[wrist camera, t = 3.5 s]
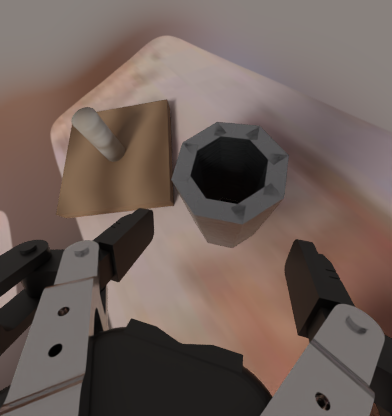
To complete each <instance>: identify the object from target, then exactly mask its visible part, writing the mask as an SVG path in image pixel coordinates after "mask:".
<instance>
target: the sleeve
mask: <svg viewBox="0 0 392 416" xmlns="http://www.w3.org/2000/svg"><path fill="white" fill-rule="evenodd" d="M288 158H289V155H288V154H287V153H286V152H285V151H284V150H283V149H282V148H281V147H280V146H279V145H278V144H277V143H276V142H275V141H274V140H273V139H272V138H271V137H270V136H269V135H268V134H267V133H266V132H265V131H264V130H263V129H262V128H261V127H260V126H255V125H245V124H234V123H223V122H216V123H215V124H213V125H211V126H210V127H208V128H206V129H205V130H203V131H201V132H200V133H198V134H196V135H195V136H193V137H191V138H190V139H188V140H186V141H185V142H183V143H182V146H181V150H180V153H179V156H178V159H177V163H176V166H175V169H174V173H173V176H172V179H171V180H172V182H173V184H174V185H175V187H176V189H177V191H178V193H179V194H180V196H181V198H182V200H183V202H184V203H185V205H186V207H187V209H188V211H189V212H190V214H191V216H192V218H193V220H194V221H195V223H196V225H197V226H198V228H199V229H200V231H201V233H202V234H203V236H204V237H205V239H206V240H207V242H208V243H211V244H216V245H220V246H225V247H229V248H234V247H235V246H237V245H238V244H240V243H241V242H243V241H244V240H246V239H247V238H249V237H250V236H252V235H253V234H254V233H255V232H256V231H257V230H258V228H259V227H260V226H261V225H262V224H263V222H264V221H265V220H266V219H267V218H268V217H269V215H270V214H271V213H272V212H273V211H274V209H275V208H276V207H277V206H278V205H279V203H280V202H281V201H282V200H283V199H284V194H285V185H286V176H287V167H288ZM221 198H222V199H228V200H233V201H237V202H238V203H239V204H234V203H228V202H223V201H218V200H220V199H221Z"/></svg>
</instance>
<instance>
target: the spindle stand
mask: <svg viewBox="0 0 392 416" xmlns="http://www.w3.org/2000/svg"><path fill="white" fill-rule="evenodd" d="M172 176H173V172H172V147H171V121H170V107H169V104H168V101H167V100H162V101H156V102H151V103H145V104H139V105H134V106H128V107H122V108H117V109H111V110H105V111H100V112H96V111H95V110H94V109H93V108H90V107H85V108H82V109H80V110H78V111H77V112H76V113H75V114H74V115H73V117H72V128H71V134H70V139H69V145H68V150H67V156H66V162H65V167H64V173H63V178H62V185H61V190H60V196H59V201H58V206H57V212H56V215H59V216H62V217H64V218H73V217H81V216H89V215H98V214H106V213H115V212H123V211H132V210H137V209H138V208H144V209H148V208H157V207H165V206H174V198H173V182H172V180H171V179H172Z"/></svg>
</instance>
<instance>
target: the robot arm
mask: <svg viewBox="0 0 392 416" xmlns="http://www.w3.org/2000/svg"><path fill="white" fill-rule="evenodd" d="M153 235H154V219H153V211H152V210H149V209H144V208H138V209H137V210H136V211H135V212H134V213H132V214H129V215H126V216H124V217H122V218H120V219H119V220H118V221H117V222H116V223H114V224H113V225H112V226H111V227H109V228H108V229H107V230H105V231H104V232H103V233H102V234H100V235H99V236H98V237H97V238H95V239H94V240H93V241H90V240H86V241H80V242H77V243H74V244H72V245H70V246H69V247H68V248H66V250H50V248H49V245H48V243H47V242H46V241H44V240H32V241H28V242H24V243H22V244H19V245H18V246H16V247H14V248H12V249H11V250H9V251H7V252H6V253H4V254H2V255H1V256H0V297H1V296H2V295H3V294H5V293H6V292H7V291H9V290H10V289H11V288H12V287H14V286H15V285H16V284H18V283H19V282H20V281H21V283H22V285H23V287H24V290H22V291H21V292H20V293H19V294H17V295H16V296H15V297H14V298H13V299H11V300H10V301H9V302H8V303H7V304H5V305H4V306H3V307H2V308H0V356H1V354H2V353H4V352H5V350H6V349H7V348H8V347H9V346H10V345H11V344H12V343H13V342H14V341H15V340H16V339H17V338H18V337H19V336H20V335H21V334H22V333H23V332H24V331H25V330H26V329H27V328H28V327H29V326H30V325H31V324H32V325H31V328H30V331H29V334H28V337H27V340H26V343H25V345H24V348H23V351H22V354H21V357H20V360H19V363H18V366H17V369H16V372H15V375H14V378H13V381H12V384H11V385H9V386H8V387H6V388H4V389H3V390H1V391H0V416H370V412H371V409H372V406H373V402H374V403H375V404H376V406H377V408H378V411H379V414H380V416H392V338H390V337H388V336H386V335H384V333H383V331H382V329H381V328H380V326H379V325H378V324H377V323H376V322H375V321H374V320H373V319H372V318H371V317H370V316H369V315H368V314H366V313H365V312H363V311H362V310H360V309H358V308H356V307H355V306H354V304H353V302H352V300H351V298H350V296H349V295H348V293H347V291H346V289H345V287H344V285H343V283H342V282H341V280H340V278H339V276H338V274H337V273H336V270H335V269H334V267H333V265H332V263H331V262H330V261H329V260H328V259H327V258H326V257H325V256H324V255H323V254H318V252H317V250H316V248H315V246H314V244H313V243H312V242H308V241H303V240H298V239H296V240H295V241H294V242H293V245H292V247H291V250H290V252H289V255H288V258H287V260H286V263H285V277H286V281H287V286H288V291H289V295H290V300H291V305H292V310H293V314H294V319H295V324H296V329H297V333H298V335H299V336H303V337H306V338H308V339H309V342H310V343H309V345H308V346H307V348H306V349H305V351H304V352H303V354H302V355H301V357H300V358H299V359H298V361H297V362H296V364H295V365H294V367H293V368H292V370H291V371H290V373H289V374H288V376H287V377H286V379H285V380H284V381H283V383H282V384H281V386H280V387H279V389H278V390H277V392H276V393H275V395H274V396H273V397H272V395H271V394H270V392H269V391H268V390H267V388H266V387H265V386H264V385H263V384H262V382H261V381H260V380H259V379H258V378H257V377H256V376H255V375H254V374H253V373H251V372H250V371H249V370H248V369H247V368H245V367H244V366H243V355H242V354H239V353H236V352H232V351H229V350H226V349H223V348H220V347H217V346H214V345H196V344H182V343H179V342H178V341H176V340H175V339H173V338H172V337H171V336H169V335H168V334H166V333H165V332H163V331H162V330H161V329H159V328H158V327H156V326H153V325H150V324H147V323H144V322H141V321H138V320H135V319H132V318H131V320H130V322H129V323H128V325H127V327H120V328H114V329H109V330H108V288H107V283H108V282H109V281H110V280H113V281H116V282H120V280H121V279H122V278H123V277H124V275H125V274H126V273H127V271H128V270H129V269H130V268H131V266H132V265H133V264H134V263H135V261H136V260H137V259H138V257H139V256H140V255H141V254H142V252H143V251H144V250H145V249H146V247H147V246H148V245H149V244H150V242H151V241H152V239H153Z"/></svg>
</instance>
